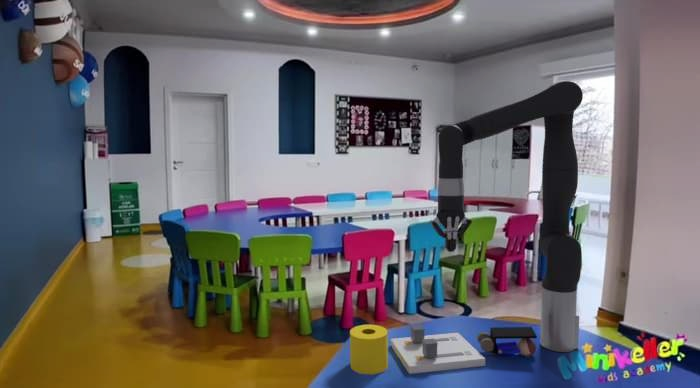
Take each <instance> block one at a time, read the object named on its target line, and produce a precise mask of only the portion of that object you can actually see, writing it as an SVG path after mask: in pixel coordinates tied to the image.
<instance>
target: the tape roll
mask: <svg viewBox="0 0 700 388" xmlns="http://www.w3.org/2000/svg"><path fill="white" fill-rule="evenodd" d="M388 333H389V332H388V329H387V328H385V327H384V326H382V325H377V324H361V325H356V326H354V327H352V328H350V330H349V345H350V346H349V352H350V353H349V356H350V359H349V360H350V368H351V370H353V372H356V373H358V374H361V375H362V374H363V375H375V374H380V373H383V372H385V371H386V370H387V369H388V368H389V367H388V366H389V360H388V359H389V353H388V351H389V350H388V346H389V343H388V342H389V341H388V336H389V335H388Z"/></svg>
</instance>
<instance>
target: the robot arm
mask: <svg viewBox="0 0 700 388" xmlns="http://www.w3.org/2000/svg"><path fill="white" fill-rule="evenodd" d="M583 96H584V95H583V90H582V88H581V87H580V86H579V84H578V83H576V82H574V81H571V80H559V81H557V82H554V83H553V84H552V85H550V86H549V87H547V88H546V89H544V90H543V91H540V92H538V93H536V94H534V95H531V96H529V97H527V98H525V99H522V100H519V101H516V102H513V103H510V104H507V105H503V106H500V107H497V108H494V109H491V110H488V111H485V112H482V113H480V114H476V115H474V116H473V117H470V118H469V119H466V120H464V121H460V122H456V123H454V124H447V125H445V126H443V127H442V128H441V129H440V131H439V132H438V133H439V134H438V136H437V137H438V139H437V140H438V155H439V156H438V157H439V163H438V181H437V182H438V183H437V213H436V217H435V218H433V220H432V219H431V220H429V224H430V226H431V227H432V228H433V229H434V231H435V232H436V233H437V234H438V236H439V237H441V238H442V239H443V238H444V243H445V244H444V245H445V250H447V251H448V252H449V253H450V252H451V253H453V252H455V251H456V250H457V249H456V248H457V239H458V238H459V237H460V238H461V237H463V236H464V234H465V233H466V231H467V230H468V229H469V227H470V226H471V224H472V223H473V221H472V219H469V218H468V217H466V214H465V211H464V209H465V206H464V205H465V204H464V203H465V186H464V185H465V184H464V163H463V162H464V161H463V155H464V154H463V151H464V150H463V149H464V146H465V145H468V144H470V143H472V142H475V141H479V140H485V139H486V138H490V137H493V136H495V135H499V134H502V133H504V132H507V131H509V130H512V129H514V128H516V127H518V126H521V125H523V124H527V123H529V122H533V121H536V120H538V119H543V120H544V121H543V123H544V139H543V141H544V143H543V152H542V167H541V169H542V171H541V172H542V175H541V176H542V177H541V179H542V181H541V184H542V185H541V186H542V189H541V191H542V192H541V193H542V221H541V230H540V238H539V250H540V253H541V254H542V256H543V257H544V258H545V259H546V267H545V269H546V270H545V275H543V276H542V278H541V307H540V308H541V309H540V310H541V311H540V314H541V315H540V345H541V346H542V347H543V348H545V349H547V350H548V351H553V352H556V353H557V352H558V353H570V352H574V350H576V349H579V337H580V336H579V335H580V316H579V315H578V314H577V296H578V294H577V293H578V283H579V282H580V279H581V268H582V246H581V244H580V242H579V241H578V239H577V238H575V237H574V236H573V235H571V234H570V212H571V208H572V205H573V201H574V199H575V196H576V193H577V190H578V183H579V181H578V180H579V179H578V178H579V163H578V161H579V160H578V154H577V150H576V146H575V140H574V135H573V134H574V133H573V125H574V115H575V111H576V110H577V109H578V108H579V107H580V105H581V104H582V102H583ZM440 224H441V226H442V228H441V227H440ZM442 229H443V230H442Z"/></svg>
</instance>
